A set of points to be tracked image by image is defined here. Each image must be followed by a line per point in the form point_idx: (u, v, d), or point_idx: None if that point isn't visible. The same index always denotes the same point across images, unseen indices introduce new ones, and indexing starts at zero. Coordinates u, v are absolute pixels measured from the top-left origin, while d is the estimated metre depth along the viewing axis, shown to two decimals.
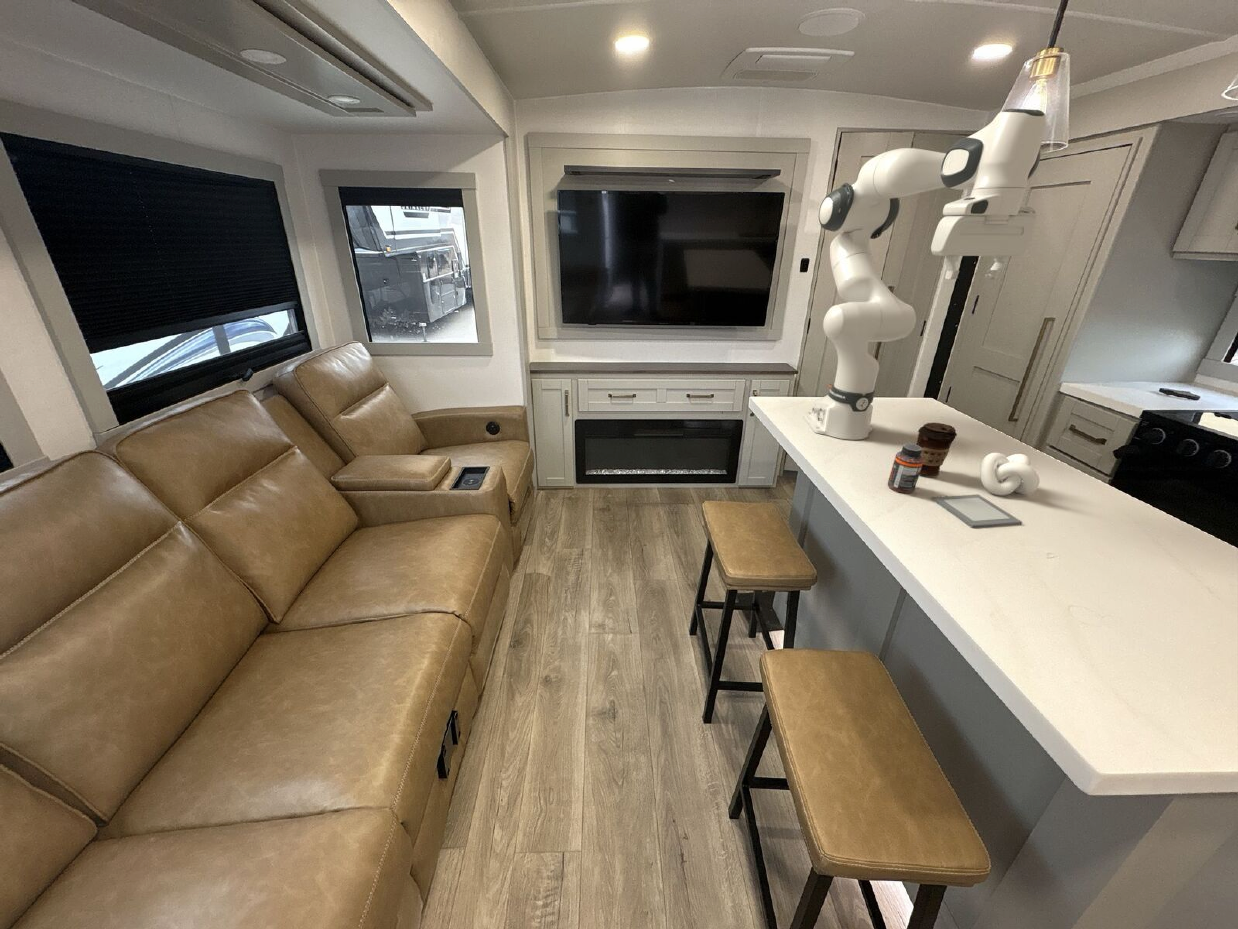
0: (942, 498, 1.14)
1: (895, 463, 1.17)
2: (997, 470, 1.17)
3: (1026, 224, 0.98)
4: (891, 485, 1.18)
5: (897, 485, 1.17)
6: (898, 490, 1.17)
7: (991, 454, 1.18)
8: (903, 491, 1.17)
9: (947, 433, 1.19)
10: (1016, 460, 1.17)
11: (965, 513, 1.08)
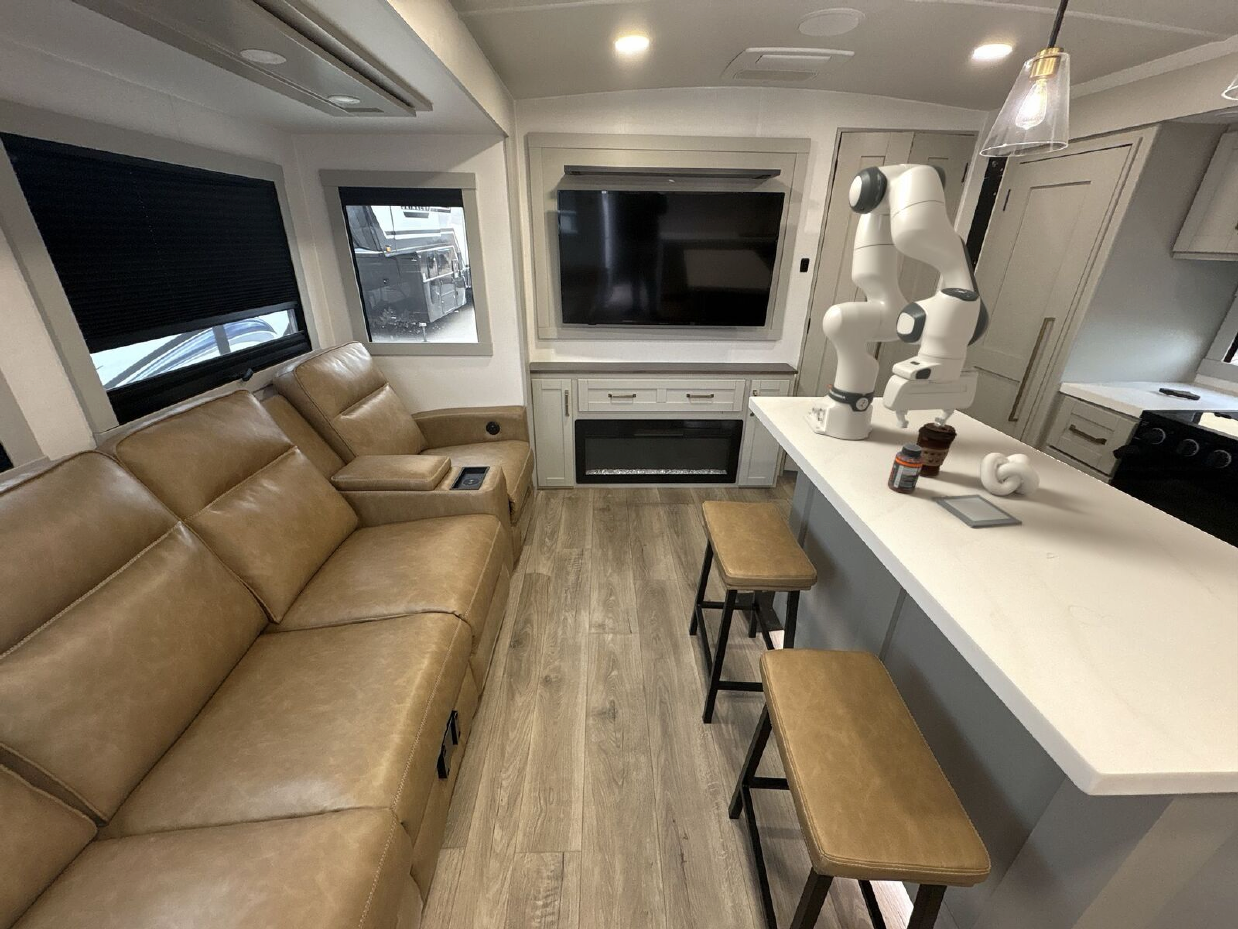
0: (942, 498, 1.14)
1: (895, 463, 1.17)
2: (997, 470, 1.17)
3: (968, 383, 1.07)
4: (891, 485, 1.18)
5: (897, 485, 1.17)
6: (898, 490, 1.17)
7: (991, 454, 1.18)
8: (903, 491, 1.17)
9: (947, 433, 1.19)
10: (1016, 460, 1.17)
11: (965, 513, 1.08)
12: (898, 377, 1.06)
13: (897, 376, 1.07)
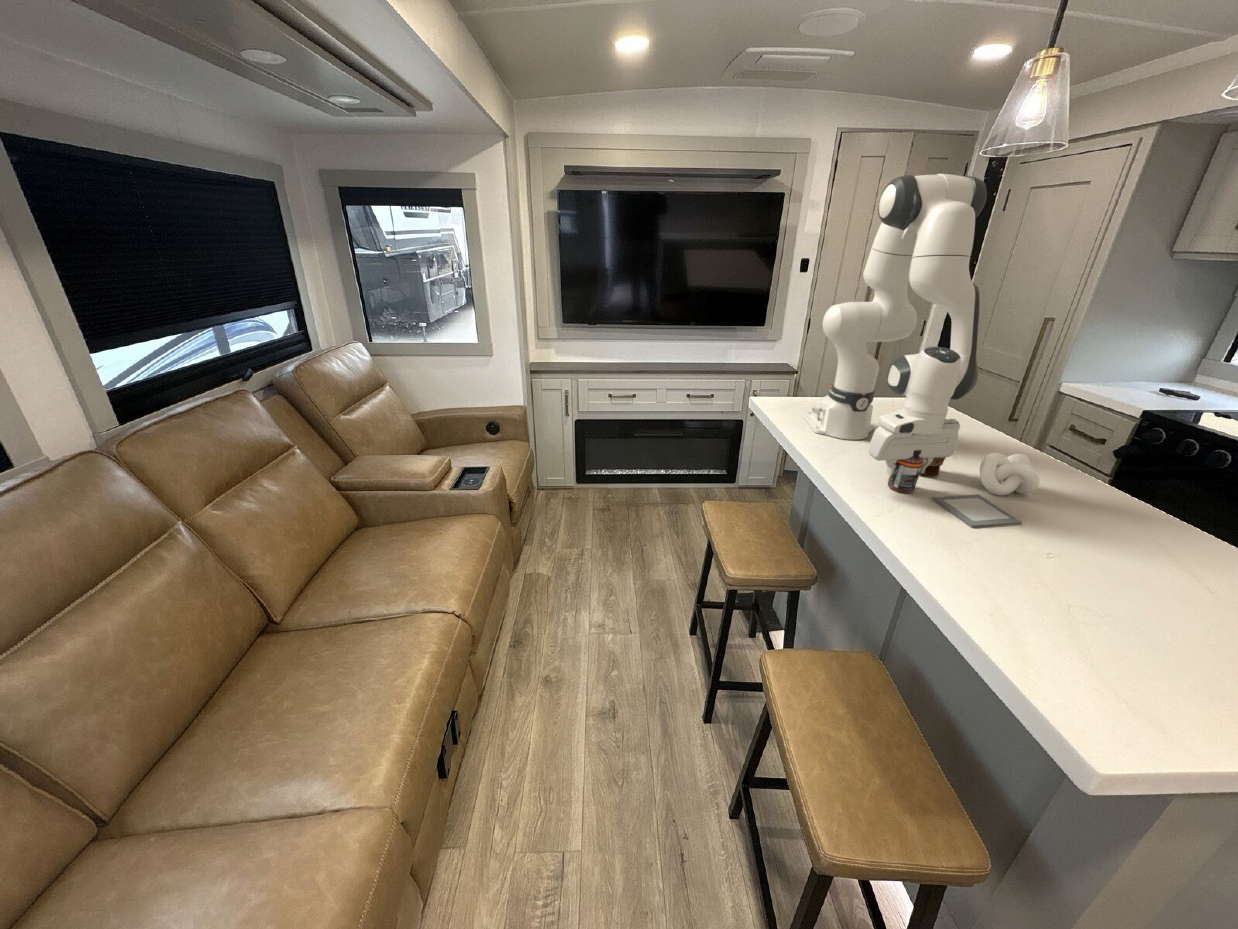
0: (942, 498, 1.14)
1: (895, 463, 1.17)
2: (997, 470, 1.17)
3: (950, 435, 1.12)
4: (891, 485, 1.18)
5: (897, 485, 1.17)
6: (898, 490, 1.17)
7: (991, 454, 1.18)
8: (903, 491, 1.17)
9: None
10: (1016, 460, 1.17)
11: (965, 513, 1.08)
12: (883, 429, 1.12)
13: (882, 428, 1.12)
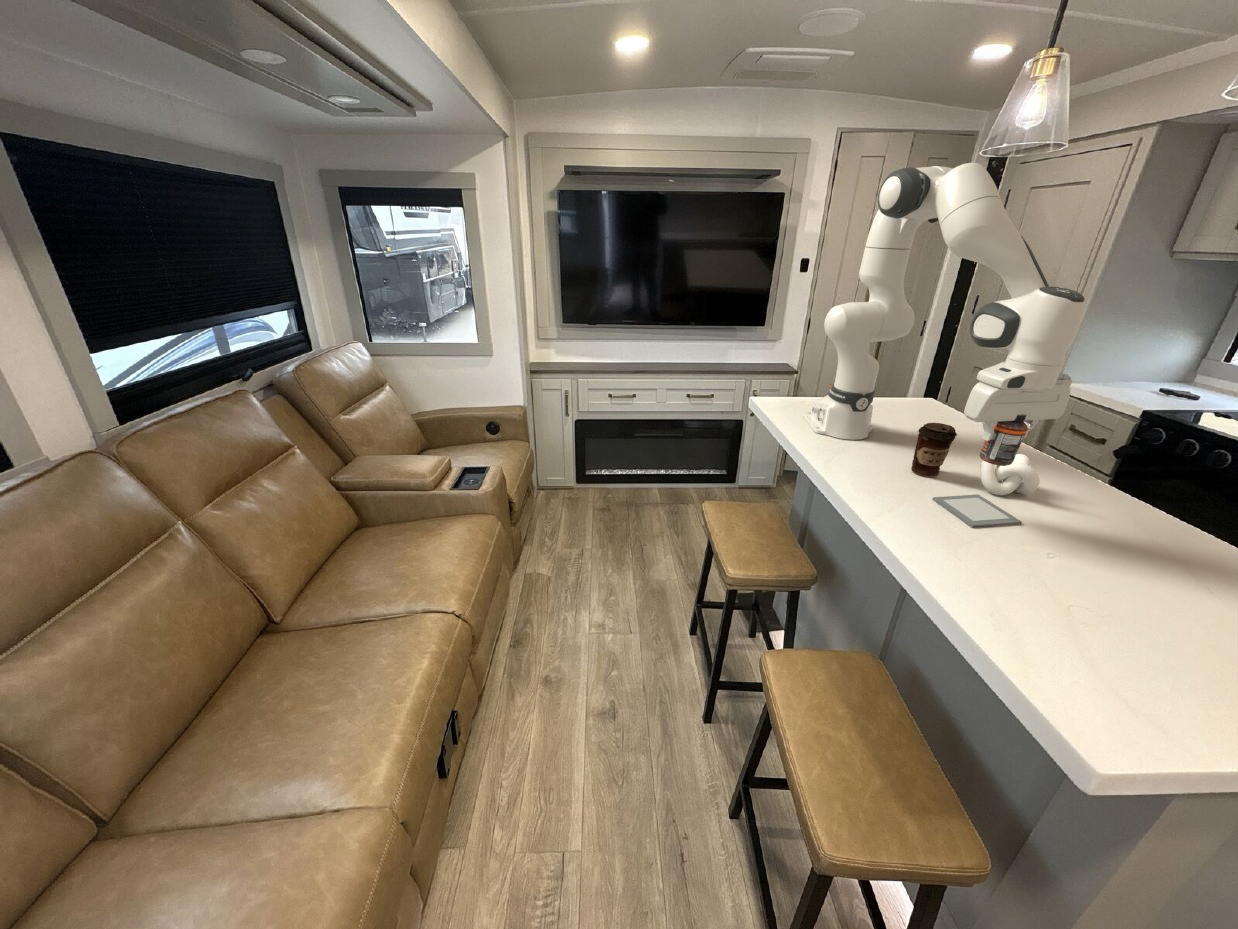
0: (942, 498, 1.14)
1: None
2: (997, 470, 1.17)
3: (1061, 392, 0.97)
4: (985, 456, 1.03)
5: (993, 457, 1.02)
6: (995, 462, 1.02)
7: None
8: (1001, 463, 1.02)
9: (947, 433, 1.19)
10: (1016, 460, 1.17)
11: (965, 513, 1.08)
12: (985, 385, 0.96)
13: (983, 384, 0.97)
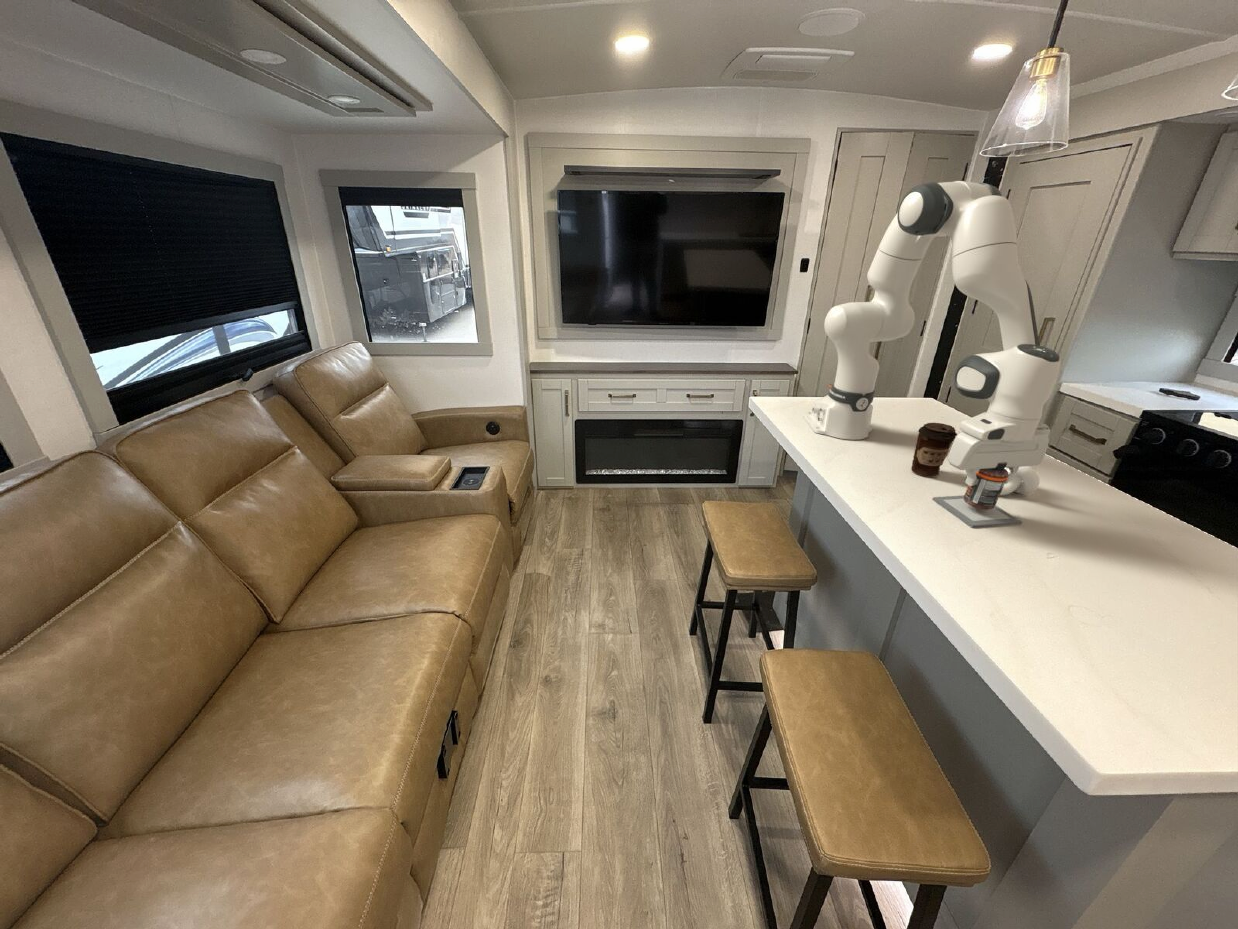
0: (942, 498, 1.14)
1: None
2: None
3: (1040, 442, 1.02)
4: (969, 500, 1.08)
5: (976, 501, 1.07)
6: (978, 506, 1.07)
7: None
8: (984, 507, 1.06)
9: (947, 433, 1.19)
10: None
11: (965, 513, 1.08)
12: (967, 435, 1.01)
13: (966, 434, 1.02)
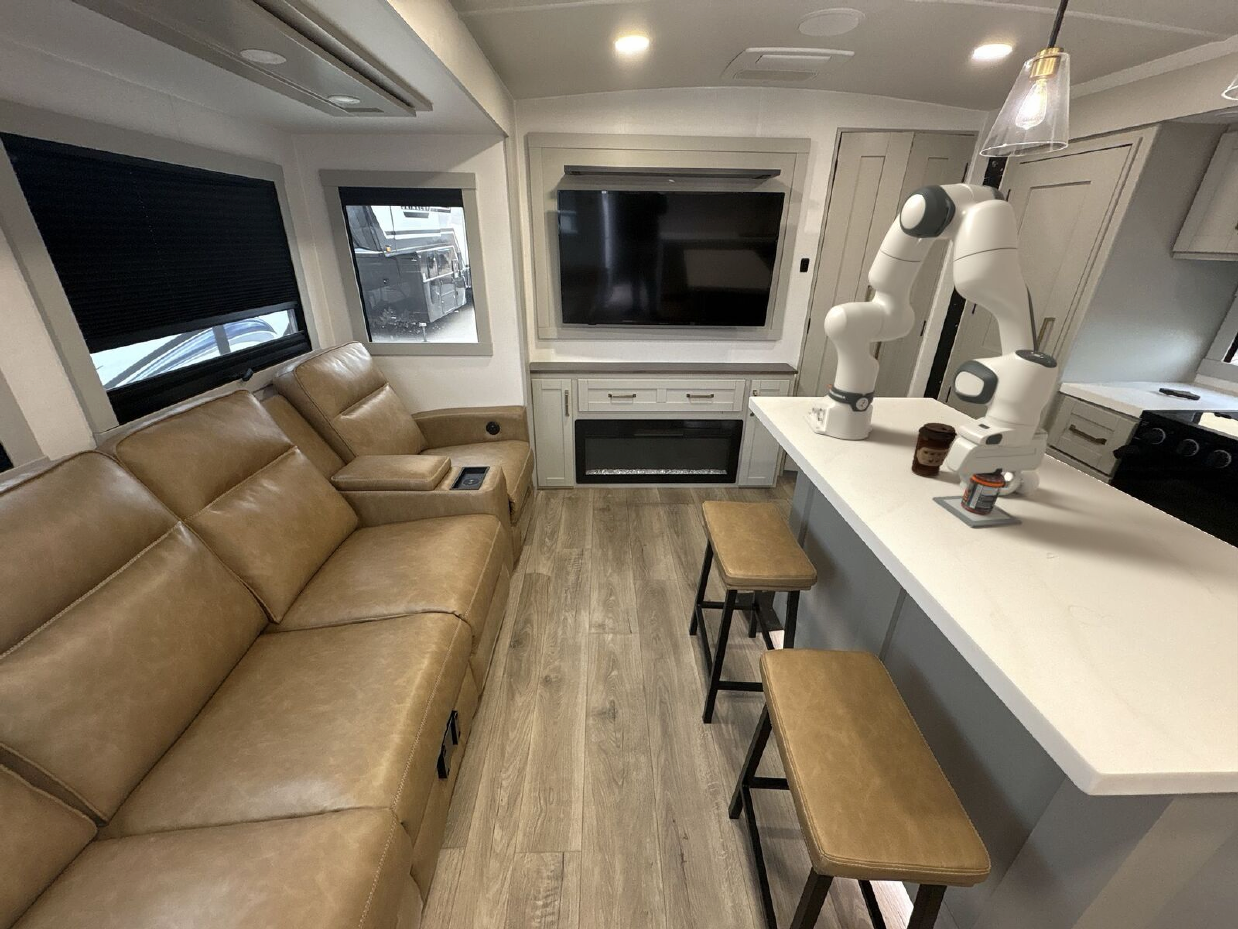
0: (942, 498, 1.14)
1: (972, 482, 1.07)
2: None
3: (1038, 446, 1.02)
4: (966, 505, 1.09)
5: (973, 506, 1.07)
6: (975, 511, 1.08)
7: None
8: (981, 512, 1.07)
9: (947, 433, 1.19)
10: None
11: (965, 513, 1.08)
12: (965, 440, 1.02)
13: (964, 439, 1.02)
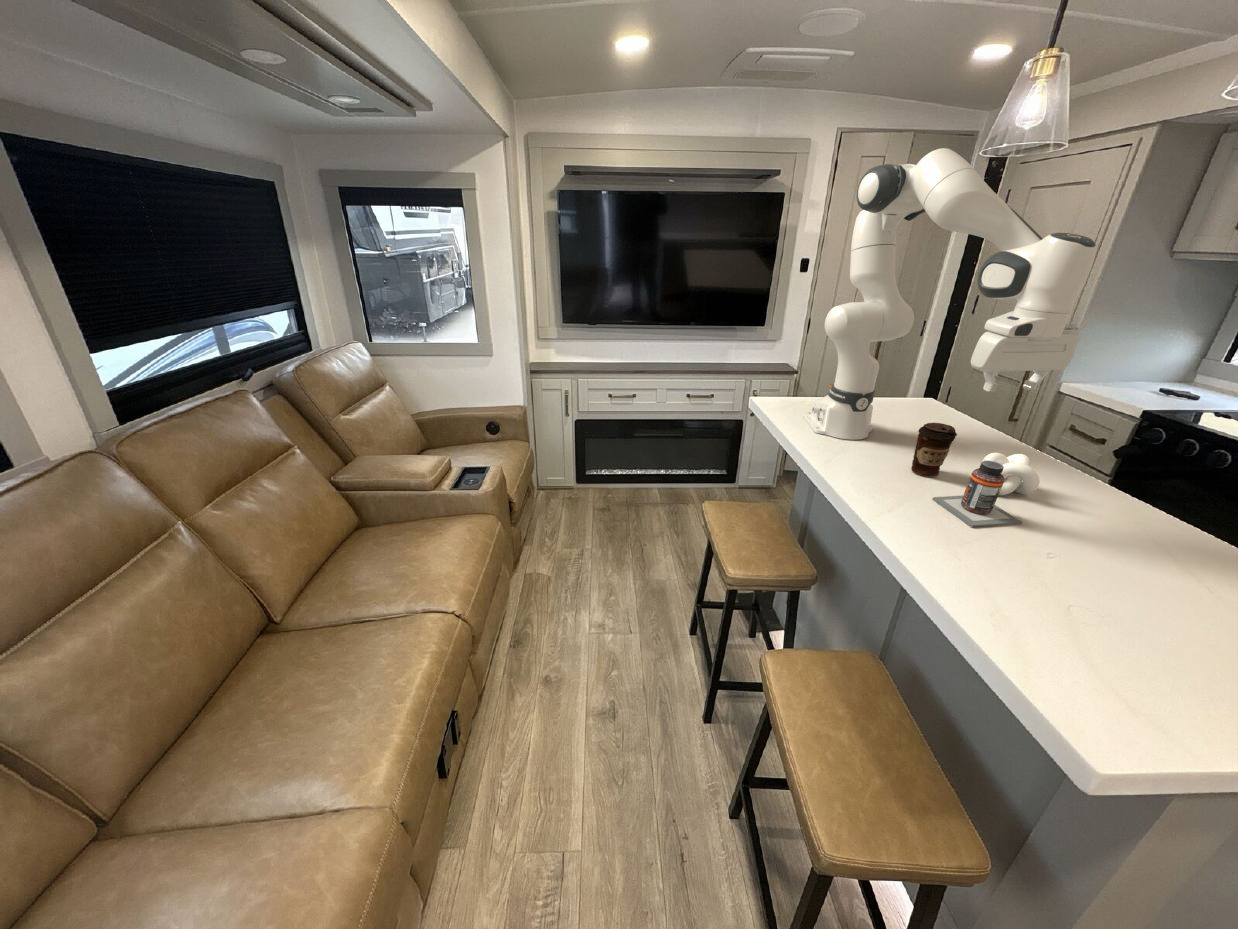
0: (942, 498, 1.14)
1: (972, 482, 1.07)
2: None
3: (1068, 342, 0.97)
4: (966, 505, 1.09)
5: (973, 506, 1.07)
6: (975, 511, 1.08)
7: (991, 454, 1.18)
8: (981, 512, 1.07)
9: (947, 433, 1.19)
10: (1016, 460, 1.17)
11: (965, 513, 1.08)
12: (992, 334, 0.97)
13: (991, 333, 0.97)
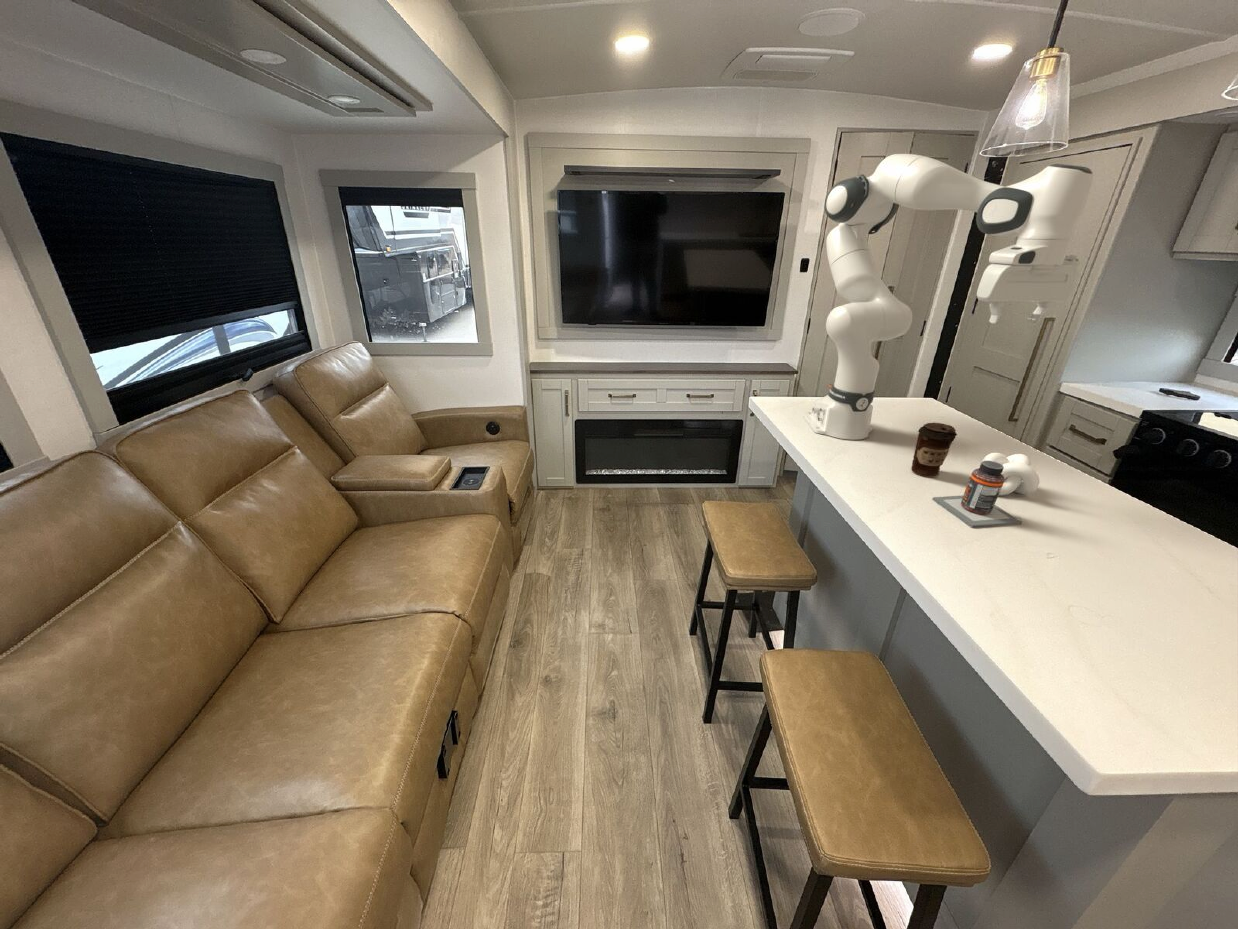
0: (942, 498, 1.14)
1: (972, 482, 1.07)
2: None
3: (1069, 272, 1.02)
4: (966, 505, 1.09)
5: (973, 506, 1.07)
6: (975, 511, 1.08)
7: (991, 454, 1.18)
8: (981, 512, 1.07)
9: (947, 433, 1.19)
10: (1016, 460, 1.17)
11: (965, 513, 1.08)
12: (997, 265, 1.01)
13: (995, 264, 1.02)
